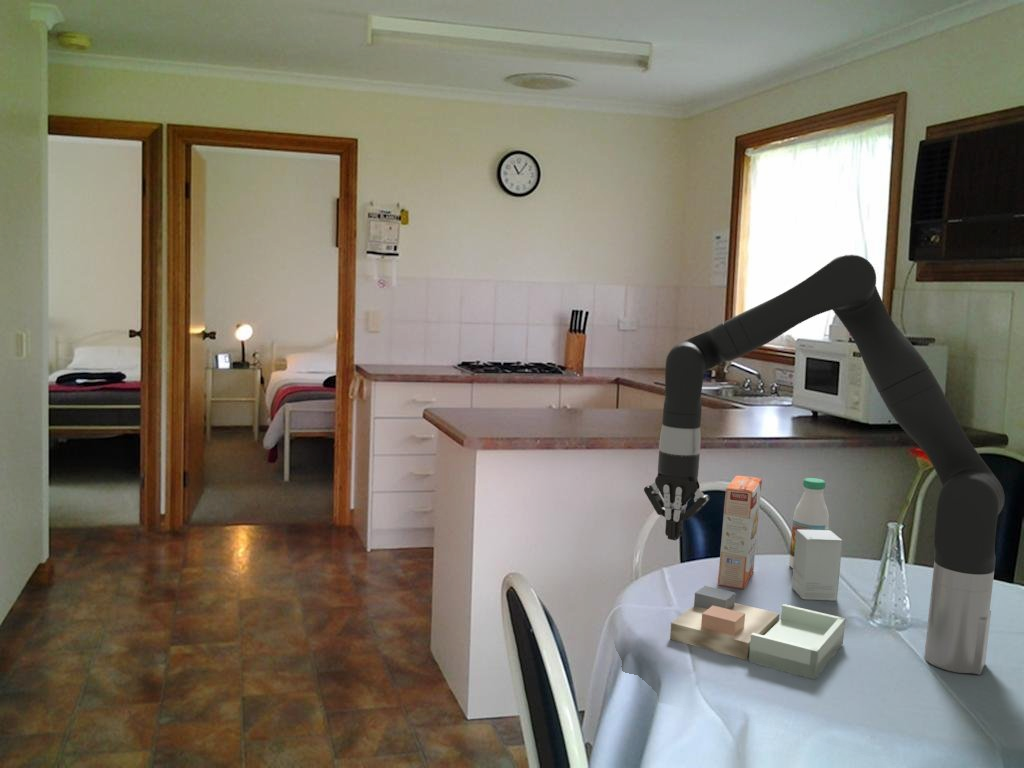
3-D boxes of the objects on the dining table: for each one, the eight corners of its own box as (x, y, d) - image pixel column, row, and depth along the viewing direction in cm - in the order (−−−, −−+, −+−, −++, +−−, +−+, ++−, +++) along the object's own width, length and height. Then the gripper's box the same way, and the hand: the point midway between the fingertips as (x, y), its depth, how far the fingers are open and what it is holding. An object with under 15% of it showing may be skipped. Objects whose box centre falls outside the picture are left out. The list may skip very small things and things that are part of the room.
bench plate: (778, 629, 176) (779, 613, 175) (746, 659, 162) (748, 642, 161) (706, 611, 183) (707, 596, 183) (670, 639, 169) (671, 622, 169)
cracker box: (746, 591, 196) (754, 491, 193) (716, 586, 198) (723, 487, 195) (755, 571, 208) (763, 477, 206) (727, 566, 211) (734, 473, 208)
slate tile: (734, 605, 178) (735, 592, 178) (725, 613, 174) (726, 600, 174) (704, 598, 182) (705, 585, 181) (694, 605, 177) (694, 592, 177)
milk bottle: (797, 560, 217) (804, 474, 215) (830, 568, 213) (838, 480, 210) (783, 567, 211) (790, 479, 209) (817, 576, 207) (825, 485, 204)
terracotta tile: (744, 626, 168) (745, 613, 168) (734, 635, 164) (735, 621, 164) (711, 618, 171) (712, 605, 171) (701, 627, 167) (702, 613, 167)
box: (842, 644, 170) (845, 618, 169) (814, 679, 155) (817, 651, 154) (781, 628, 176) (783, 603, 175) (748, 661, 161) (750, 634, 160)
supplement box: (838, 601, 192) (843, 540, 190) (801, 599, 192) (806, 538, 190) (826, 588, 199) (831, 529, 197) (790, 587, 199) (795, 528, 197)
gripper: (720, 451, 179) (713, 541, 181) (655, 441, 186) (649, 527, 188) (705, 458, 172) (698, 550, 175) (638, 447, 179) (632, 536, 182)
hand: (673, 538), depth 181 cm, fingers closed
